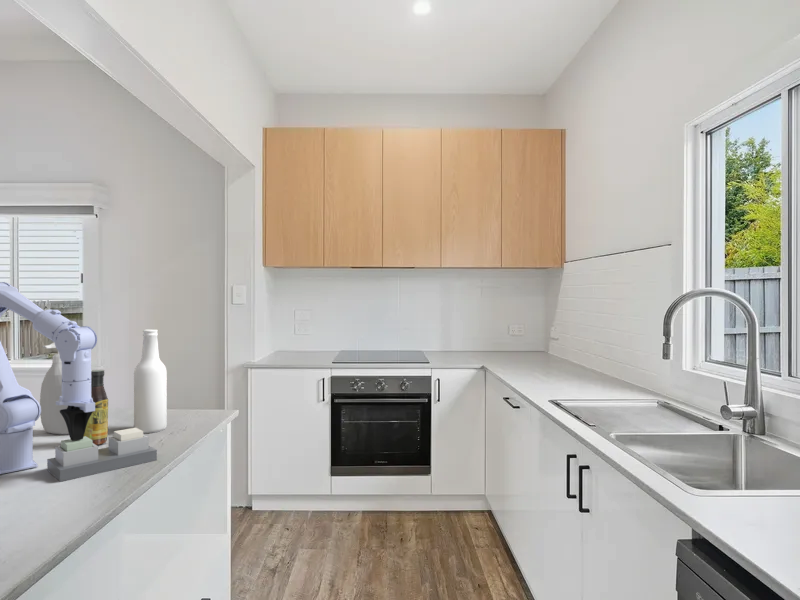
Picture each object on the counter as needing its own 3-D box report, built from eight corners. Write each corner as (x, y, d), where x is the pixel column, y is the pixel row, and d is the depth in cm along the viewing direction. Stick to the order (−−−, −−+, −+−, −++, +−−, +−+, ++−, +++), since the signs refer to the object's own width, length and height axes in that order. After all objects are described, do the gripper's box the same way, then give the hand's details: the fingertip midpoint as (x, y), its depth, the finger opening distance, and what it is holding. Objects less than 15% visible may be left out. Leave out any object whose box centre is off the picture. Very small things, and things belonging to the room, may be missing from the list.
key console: (47, 469, 116) (47, 445, 116) (139, 450, 131) (139, 429, 131) (60, 481, 109) (60, 456, 109) (156, 460, 123) (156, 437, 123)
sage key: (61, 447, 116) (60, 440, 116) (85, 443, 119) (85, 436, 119) (67, 452, 112) (67, 444, 112) (92, 447, 116) (92, 440, 116)
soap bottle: (26, 434, 146) (25, 341, 146) (53, 427, 154) (53, 339, 154) (62, 439, 141) (61, 342, 141) (88, 432, 149) (88, 340, 149)
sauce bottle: (95, 448, 133) (94, 372, 133) (74, 446, 134) (74, 371, 134) (113, 441, 140) (113, 369, 139) (94, 439, 141) (94, 368, 141)
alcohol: (171, 429, 152) (171, 329, 151) (140, 435, 145) (140, 331, 145) (159, 424, 158) (159, 328, 157) (129, 430, 151) (129, 329, 151)
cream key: (113, 437, 124) (113, 431, 124) (135, 433, 127) (135, 427, 127) (121, 441, 120) (121, 435, 120) (143, 437, 124) (143, 431, 124)
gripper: (44, 379, 117) (44, 438, 117) (69, 385, 108) (70, 449, 108) (78, 375, 122) (78, 431, 122) (105, 381, 114) (105, 441, 114)
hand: (76, 439), depth 116 cm, fingers closed
